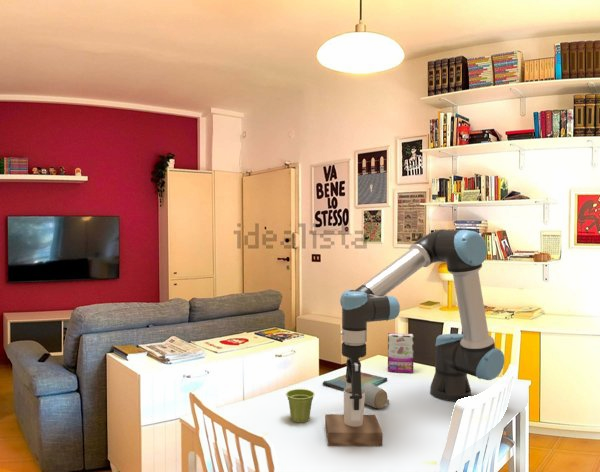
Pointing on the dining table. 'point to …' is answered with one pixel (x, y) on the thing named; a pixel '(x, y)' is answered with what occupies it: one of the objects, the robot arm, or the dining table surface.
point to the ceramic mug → (375, 396)
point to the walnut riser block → (353, 431)
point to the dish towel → (341, 382)
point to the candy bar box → (400, 352)
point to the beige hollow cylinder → (348, 408)
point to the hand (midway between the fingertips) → (352, 411)
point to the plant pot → (300, 404)
